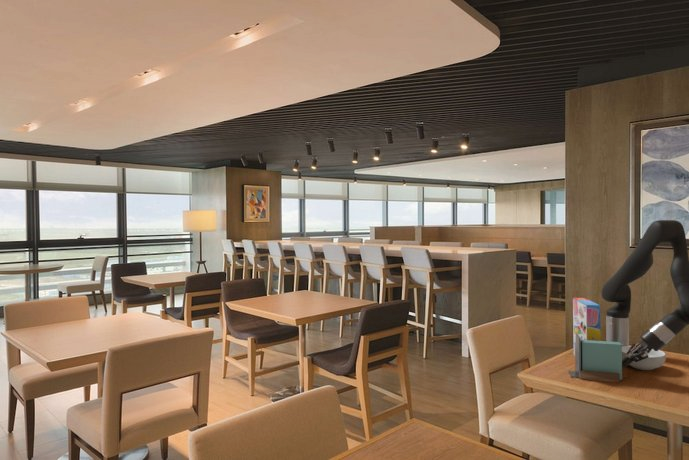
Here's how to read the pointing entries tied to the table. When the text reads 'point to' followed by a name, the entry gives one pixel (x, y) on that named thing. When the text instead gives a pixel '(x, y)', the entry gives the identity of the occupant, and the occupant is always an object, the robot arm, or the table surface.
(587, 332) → the game box
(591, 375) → the shelf slot
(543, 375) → the table surface
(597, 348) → the book box
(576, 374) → the bookend
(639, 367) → the cereal bowl
